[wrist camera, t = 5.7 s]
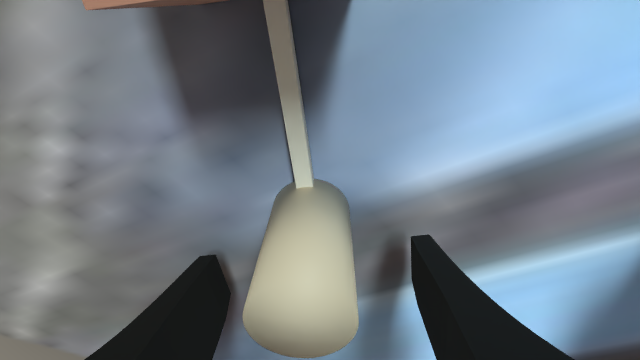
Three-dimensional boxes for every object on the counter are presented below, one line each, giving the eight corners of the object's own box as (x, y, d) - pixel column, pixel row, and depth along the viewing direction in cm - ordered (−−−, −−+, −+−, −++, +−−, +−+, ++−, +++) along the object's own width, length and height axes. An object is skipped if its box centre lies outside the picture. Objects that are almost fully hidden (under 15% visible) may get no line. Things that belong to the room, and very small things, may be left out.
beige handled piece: (339, -302, 7) (354, -868, 2) (370, 238, 13) (389, 354, 9) (130, -258, 7) (-193, -670, 3) (262, 246, 14) (230, 361, 9)
